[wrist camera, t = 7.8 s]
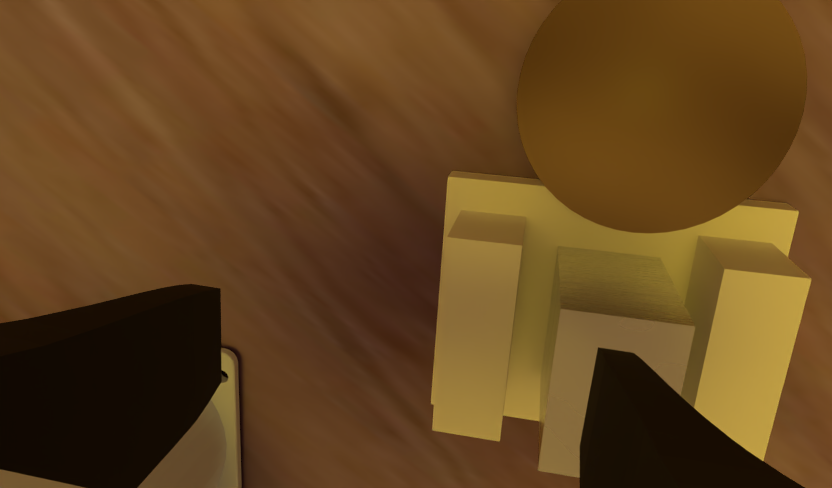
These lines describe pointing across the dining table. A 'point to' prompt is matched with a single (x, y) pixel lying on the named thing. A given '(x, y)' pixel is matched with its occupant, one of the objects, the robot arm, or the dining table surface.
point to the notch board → (679, 251)
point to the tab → (603, 338)
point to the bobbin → (660, 107)
